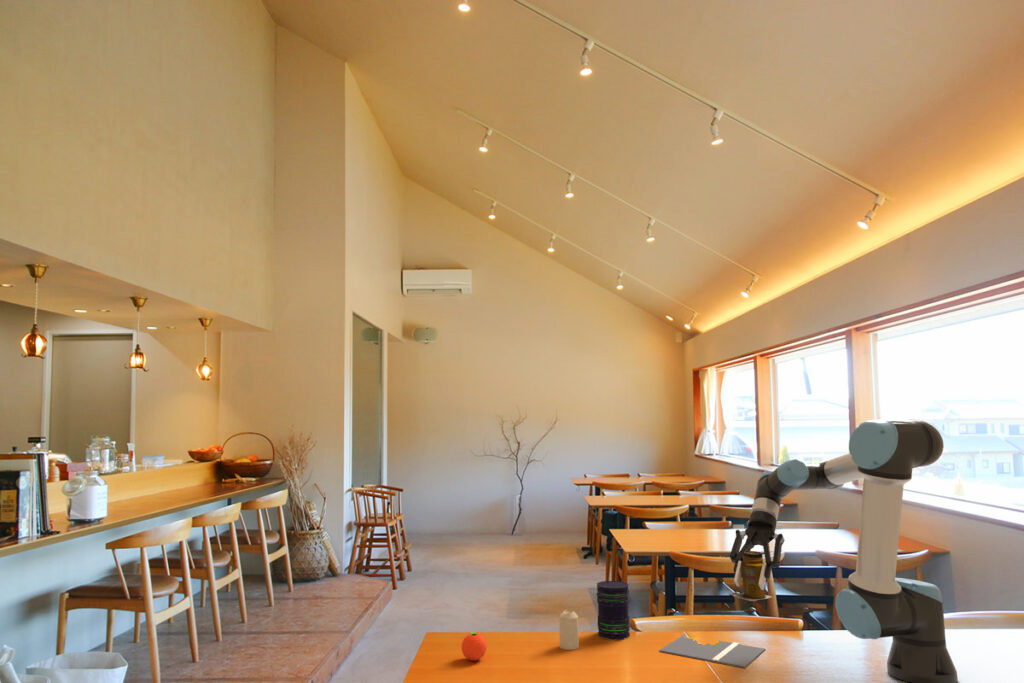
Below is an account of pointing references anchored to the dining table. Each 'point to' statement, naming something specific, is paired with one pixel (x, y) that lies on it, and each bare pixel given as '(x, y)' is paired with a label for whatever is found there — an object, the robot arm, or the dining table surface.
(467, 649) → the clementine
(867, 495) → the robot arm
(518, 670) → the dining table surface
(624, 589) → the storage jar
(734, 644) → the mat
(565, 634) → the candle
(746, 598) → the condiment
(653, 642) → the dining table surface
